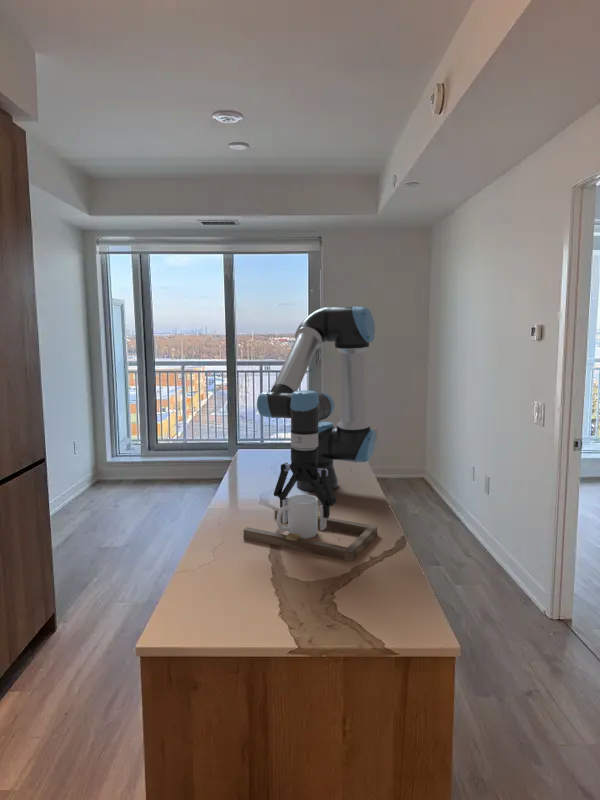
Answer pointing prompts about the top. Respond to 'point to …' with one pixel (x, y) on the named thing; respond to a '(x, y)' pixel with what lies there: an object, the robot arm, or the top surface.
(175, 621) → the top surface
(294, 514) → the cup
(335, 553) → the track
